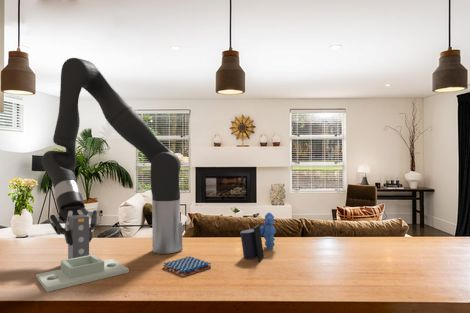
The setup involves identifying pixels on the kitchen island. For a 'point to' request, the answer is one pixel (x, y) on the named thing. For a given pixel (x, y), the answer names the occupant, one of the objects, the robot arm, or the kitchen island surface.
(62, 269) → the bracket
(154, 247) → the robot arm
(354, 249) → the kitchen island surface
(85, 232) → the tall grey pillar
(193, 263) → the woven mat
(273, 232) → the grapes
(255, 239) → the speaker
